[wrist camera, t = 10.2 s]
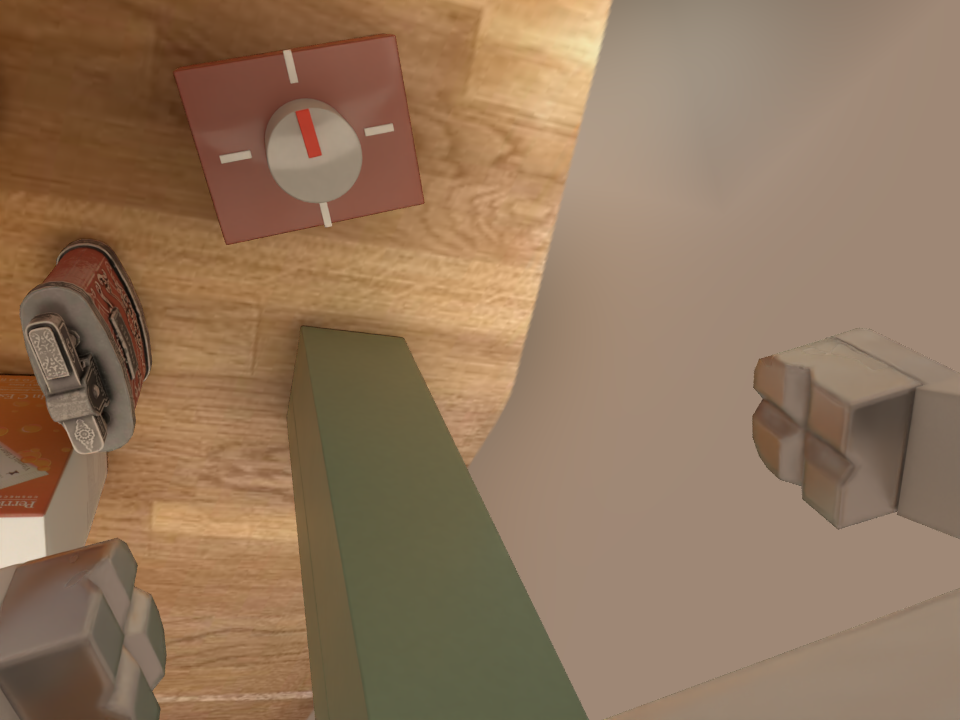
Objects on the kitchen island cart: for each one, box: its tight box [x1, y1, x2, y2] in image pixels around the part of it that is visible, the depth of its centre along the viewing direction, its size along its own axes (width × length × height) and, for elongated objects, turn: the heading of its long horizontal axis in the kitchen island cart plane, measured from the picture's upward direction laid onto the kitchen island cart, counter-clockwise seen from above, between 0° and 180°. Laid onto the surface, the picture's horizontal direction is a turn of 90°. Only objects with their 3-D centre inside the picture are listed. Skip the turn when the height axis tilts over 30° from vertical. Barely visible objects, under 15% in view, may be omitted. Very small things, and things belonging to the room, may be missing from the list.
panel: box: [173, 34, 424, 245], centre depth 36 cm, size 10×8×3 cm
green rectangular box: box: [287, 326, 589, 720], centre depth 31 cm, size 6×6×30 cm
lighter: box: [20, 239, 152, 454], centre depth 34 cm, size 8×3×10 cm, turn 6°
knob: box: [265, 98, 362, 203], centre depth 33 cm, size 4×4×4 cm
